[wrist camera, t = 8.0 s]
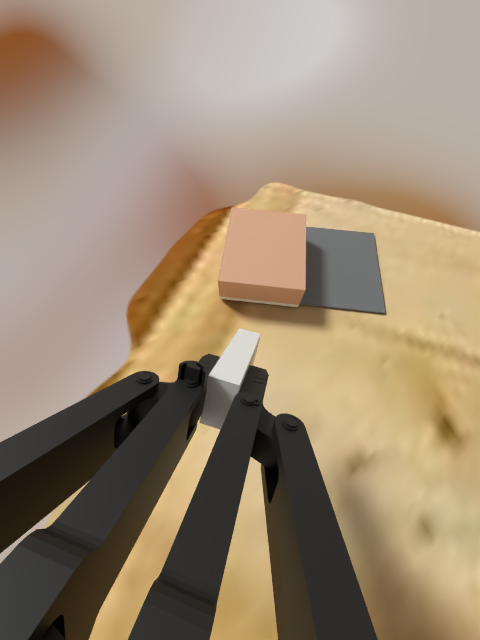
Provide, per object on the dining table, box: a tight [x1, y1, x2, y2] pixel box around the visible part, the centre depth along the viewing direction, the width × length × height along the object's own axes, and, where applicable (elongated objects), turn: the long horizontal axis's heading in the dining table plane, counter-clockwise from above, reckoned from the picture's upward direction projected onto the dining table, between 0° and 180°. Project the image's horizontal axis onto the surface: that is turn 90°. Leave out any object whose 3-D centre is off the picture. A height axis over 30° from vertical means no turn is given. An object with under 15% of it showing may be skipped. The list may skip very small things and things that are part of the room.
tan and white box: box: [218, 208, 306, 307], centre depth 33 cm, size 4×10×12 cm
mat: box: [299, 227, 385, 314], centre depth 36 cm, size 14×20×1 cm
